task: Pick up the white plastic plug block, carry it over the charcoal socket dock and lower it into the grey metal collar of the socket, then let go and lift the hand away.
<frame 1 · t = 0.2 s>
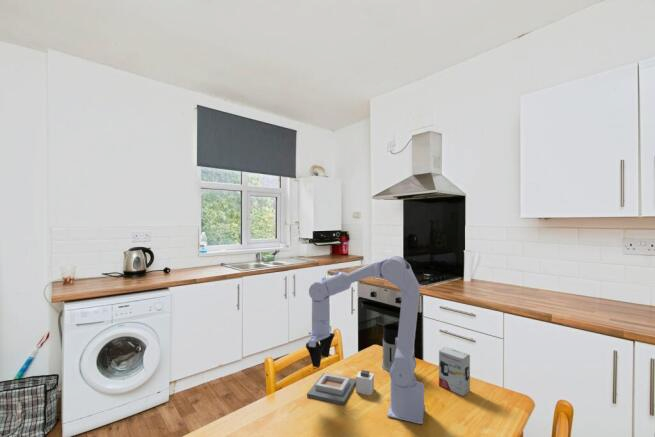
hand: (320, 361, 96), 10 cm above the table, tool pointing down, fingers open, 7 cm apart
plug: (365, 390, 97), on the table
socket dock: (332, 389, 98), on the table
ink box: (454, 388, 99), on the table
glass holder: (394, 371, 110), on the table
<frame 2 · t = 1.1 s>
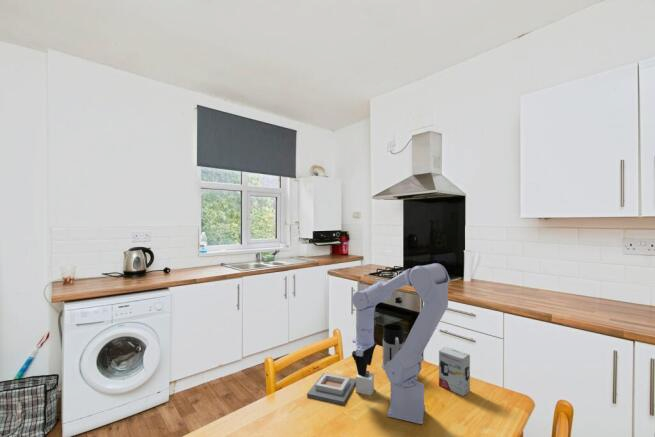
hand: (364, 369, 97), 7 cm above the table, tool pointing down, fingers open, 7 cm apart
nothing on the table moved.
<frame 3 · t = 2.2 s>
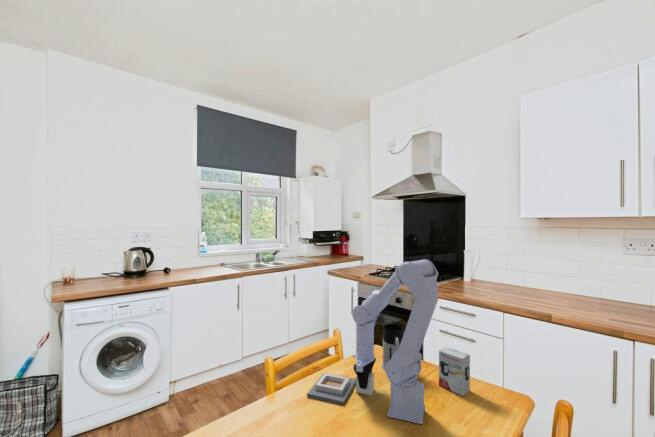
hand: (364, 384, 97), 2 cm above the table, tool pointing down, fingers closed on plug, 4 cm apart
plug: (364, 390, 97), on the table, touching gripper
everything else where it was.
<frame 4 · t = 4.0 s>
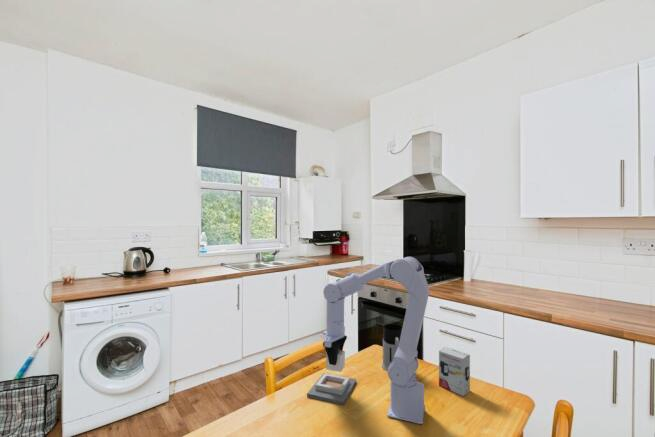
hand: (335, 361, 98), 9 cm above the table, tool pointing down, fingers closed on plug, 4 cm apart
plug: (335, 367, 98), point 7 cm above the table, touching gripper
everything else where it was.
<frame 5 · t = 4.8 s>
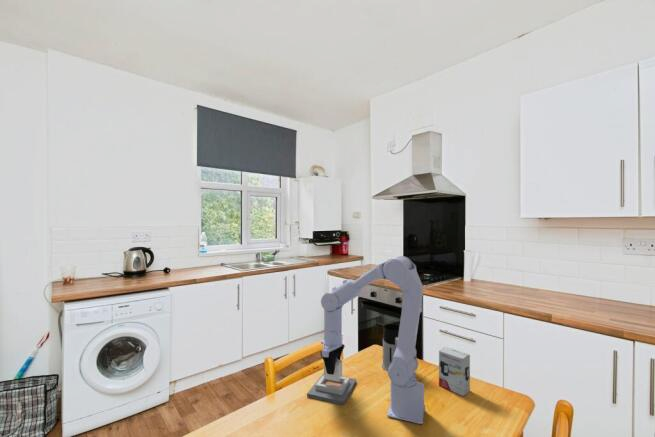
hand: (332, 370, 98), 6 cm above the table, tool pointing down, fingers closed on plug, 4 cm apart
plug: (333, 377, 98), point 4 cm above the table, touching gripper
everything else where it was.
when the fingers open (4 cm above the table, at t = 5.7 s): plug stays where it is, resting on socket dock.
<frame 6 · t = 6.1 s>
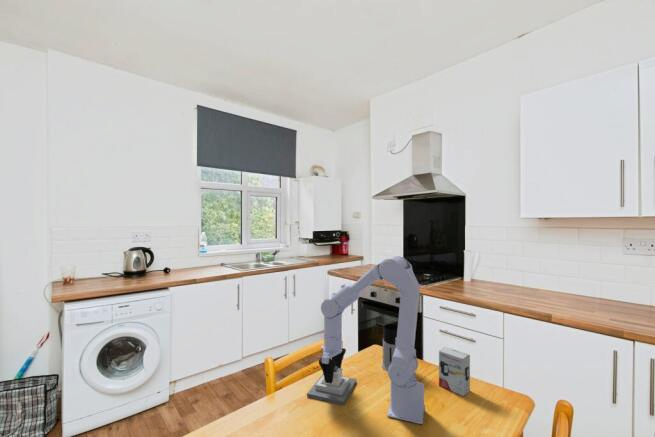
hand: (332, 376, 98), 4 cm above the table, tool pointing down, fingers open, 7 cm apart
plug: (333, 385, 98), point 1 cm above the table, touching socket dock
everything else where it was.
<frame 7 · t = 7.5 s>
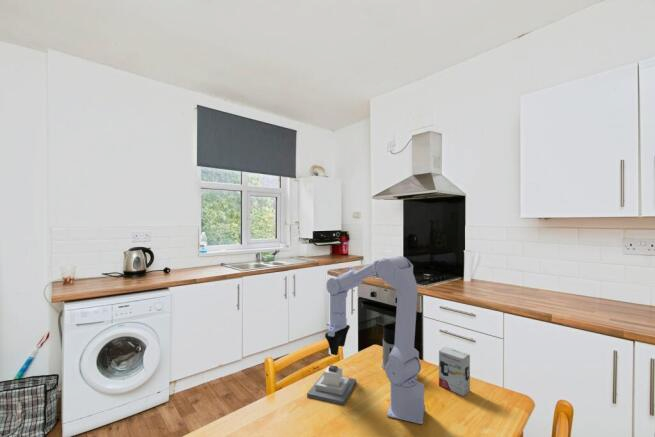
hand: (337, 350, 106), 9 cm above the table, tool pointing down, fingers open, 7 cm apart
nothing on the table moved.
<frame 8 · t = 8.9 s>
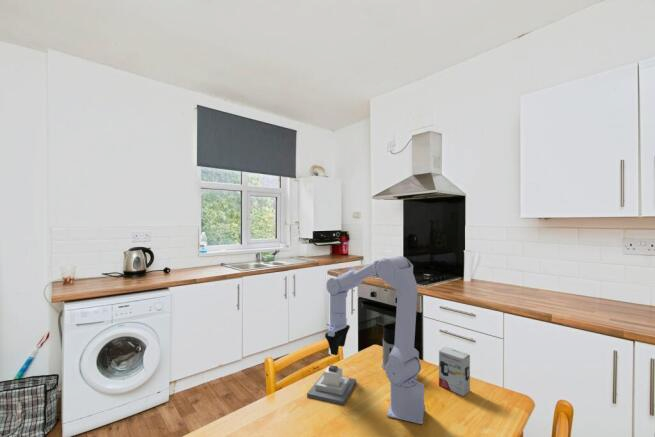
hand: (337, 350, 106), 9 cm above the table, tool pointing down, fingers open, 7 cm apart
nothing on the table moved.
at the end: plug 0.1 cm off-centre on the socket dock, point 1.1 cm above the socket dock's base; plug tilted 0°; the gripper is holding nothing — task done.
